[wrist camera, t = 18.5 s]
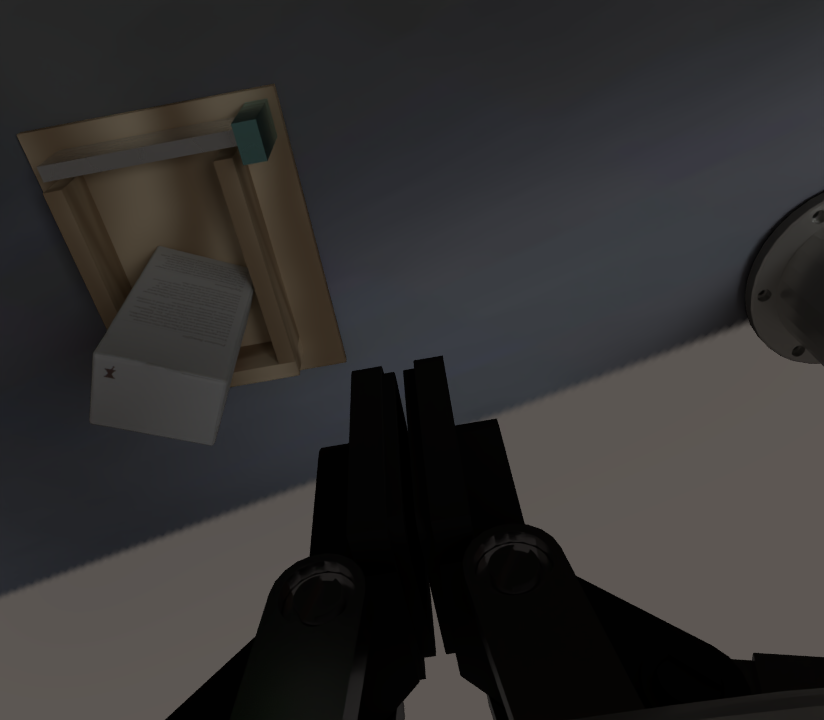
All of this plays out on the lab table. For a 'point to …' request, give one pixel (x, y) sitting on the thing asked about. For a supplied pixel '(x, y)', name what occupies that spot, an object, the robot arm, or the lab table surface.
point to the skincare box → (173, 348)
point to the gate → (171, 144)
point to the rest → (200, 227)
